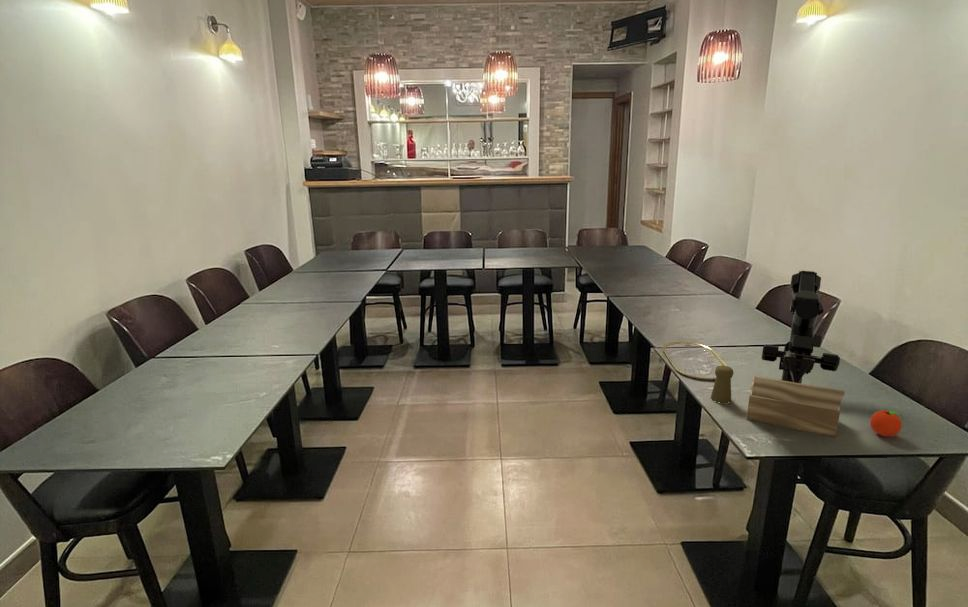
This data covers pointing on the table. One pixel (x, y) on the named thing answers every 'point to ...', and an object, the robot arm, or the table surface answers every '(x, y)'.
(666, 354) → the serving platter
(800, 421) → the kraft carton
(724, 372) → the cork
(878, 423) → the clementine
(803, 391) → the carton flap
